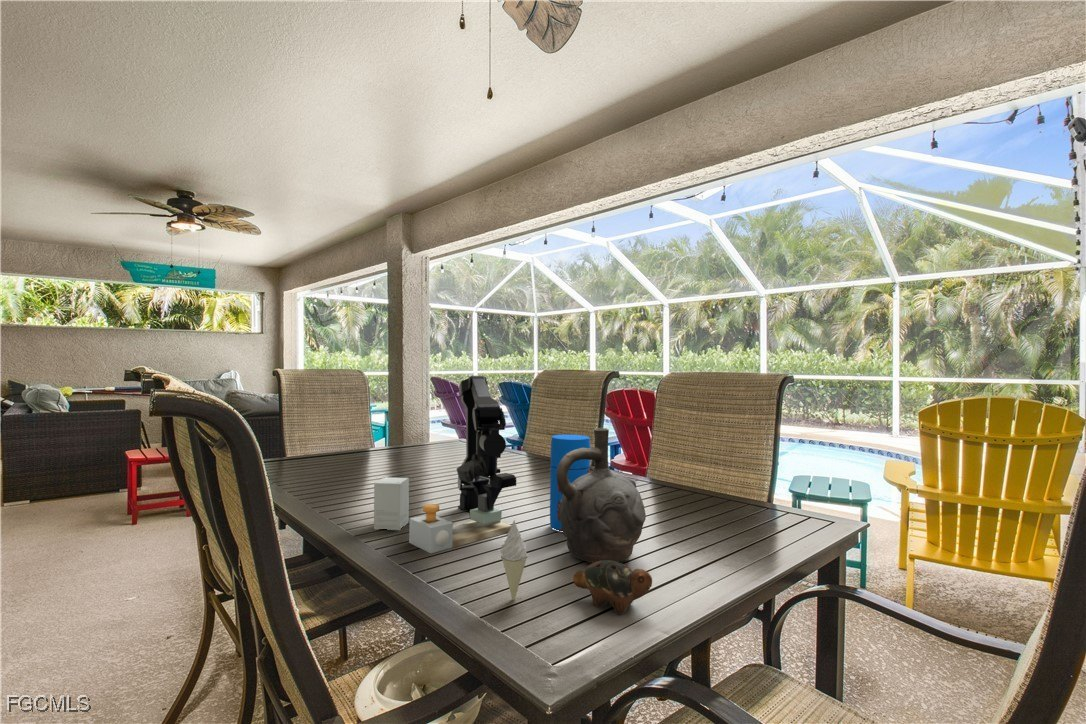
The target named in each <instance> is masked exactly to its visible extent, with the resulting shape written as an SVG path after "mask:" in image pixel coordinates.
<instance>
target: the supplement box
mask: <svg viewBox="0 0 1086 724" xmlns="http://www.w3.org/2000/svg"><path fill="white" fill-rule="evenodd" d="M373 485H374V486H373V487H374V488H373V491H374V492H373V499H374V500H373V502H374V503H373V529H374V530H379V529H387V530H386V531H401V530H402V529H403V528H404V527H405V526H406V525H408V524H409V523H410V518H409V512H410V511H409V510H410V509H409V508H410V507H409V505H410V504H409V501H410V500H409V499H410V491H409V488H410V478H409V477H389V476H388V477H387V476H385V477H383V478H381V479H380V480H377V481H376V482H374V483H373ZM403 526H404V527H403ZM402 527H403V528H402ZM401 528H402V529H401Z"/></svg>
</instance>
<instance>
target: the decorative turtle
mask: <svg viewBox="0 0 1086 724" xmlns="http://www.w3.org/2000/svg"><path fill="white" fill-rule="evenodd" d="M572 580H573V584H574V586H575V587H577V588H580V589H585V590H588V591H589V592H590V595H591V598H592V603H593V605H594V606H595V607H597V608H600V607H603V606H605V605H606V604H607V603H609V604H610V605H611V606H612V608H613V609H614V612H615V613H616V614H617V613H618V615H623V614H624V613H625V612H626V611H627V609H628V607H629V606H630V605H631V604H632V603H633V602H634V601H636V600H638V599H640V598H642V597H643V596H645V595H646V594H647V593H648V592H649V591H650V590H651V588H652V585H653V578H652V576H651V574H650V573H649V572H648V571H646V570H645V569H643V568H635V569H634V570H632V568H630V567H629V566H628V565H626V564H624V563H621V562H620V561H619V562H616V561H611V560H602V561H597V562H594V563H592V562H591V563H590V565H588V566H587V567H585V569H584V570H577V571H575V572H574V573H573V579H572ZM629 604H630V605H629Z"/></svg>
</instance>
